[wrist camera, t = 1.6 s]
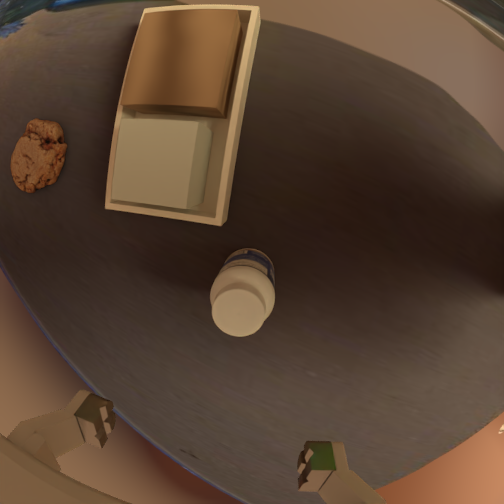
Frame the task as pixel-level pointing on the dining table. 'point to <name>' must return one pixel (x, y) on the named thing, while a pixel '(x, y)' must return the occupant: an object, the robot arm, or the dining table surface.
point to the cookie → (38, 155)
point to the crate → (224, 129)
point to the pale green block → (162, 162)
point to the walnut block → (184, 63)
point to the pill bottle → (243, 292)
